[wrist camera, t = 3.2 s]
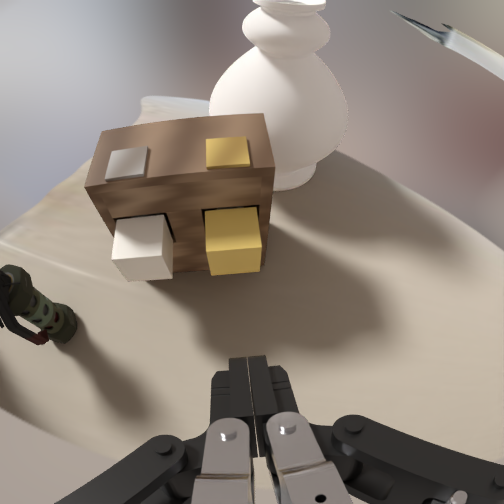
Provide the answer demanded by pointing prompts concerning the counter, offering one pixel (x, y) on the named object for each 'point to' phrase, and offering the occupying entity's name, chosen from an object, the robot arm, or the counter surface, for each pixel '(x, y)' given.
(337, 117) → the decorative vase
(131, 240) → the ivory button
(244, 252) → the mustard button
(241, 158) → the brown wooden block
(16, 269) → the grenade
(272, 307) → the counter surface
